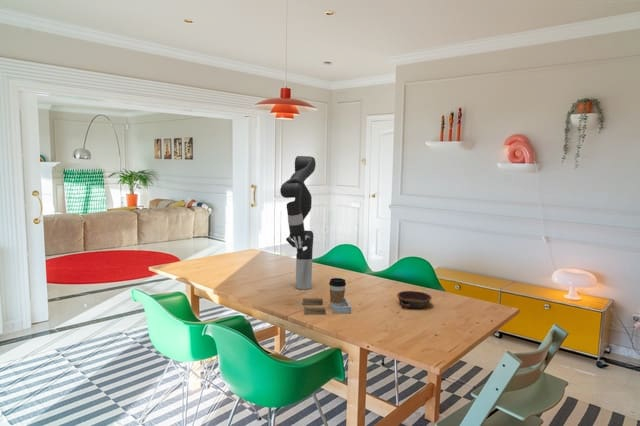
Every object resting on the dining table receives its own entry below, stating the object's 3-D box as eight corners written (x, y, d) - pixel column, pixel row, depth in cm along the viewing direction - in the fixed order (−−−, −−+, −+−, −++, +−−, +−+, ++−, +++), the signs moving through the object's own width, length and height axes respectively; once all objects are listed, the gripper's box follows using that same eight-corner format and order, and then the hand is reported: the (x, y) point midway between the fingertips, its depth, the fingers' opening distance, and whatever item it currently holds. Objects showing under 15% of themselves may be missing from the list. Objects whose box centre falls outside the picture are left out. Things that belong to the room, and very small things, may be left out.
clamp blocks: (302, 302, 226) (302, 298, 226) (321, 302, 227) (322, 298, 227) (304, 314, 209) (304, 309, 209) (325, 314, 210) (325, 309, 210)
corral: (330, 303, 226) (330, 298, 225) (346, 303, 227) (346, 298, 226) (333, 313, 212) (333, 307, 212) (350, 313, 213) (351, 307, 212)
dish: (387, 305, 227) (388, 295, 226) (410, 296, 243) (410, 287, 242) (417, 314, 215) (418, 304, 215) (439, 304, 231) (439, 295, 231)
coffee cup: (332, 312, 213) (333, 282, 212) (325, 306, 221) (326, 277, 219) (347, 310, 217) (349, 280, 215) (340, 305, 224) (341, 276, 223)
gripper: (310, 219, 221) (314, 251, 226) (285, 220, 224) (290, 252, 229) (306, 224, 214) (311, 257, 219) (281, 225, 217) (286, 257, 222)
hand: (300, 254), depth 224 cm, fingers closed
